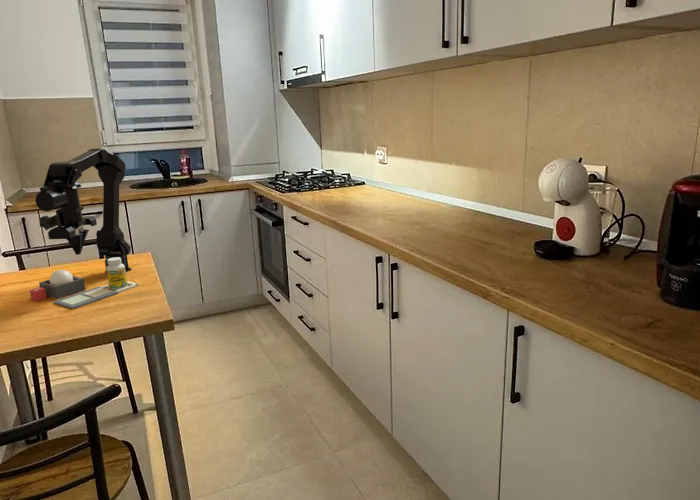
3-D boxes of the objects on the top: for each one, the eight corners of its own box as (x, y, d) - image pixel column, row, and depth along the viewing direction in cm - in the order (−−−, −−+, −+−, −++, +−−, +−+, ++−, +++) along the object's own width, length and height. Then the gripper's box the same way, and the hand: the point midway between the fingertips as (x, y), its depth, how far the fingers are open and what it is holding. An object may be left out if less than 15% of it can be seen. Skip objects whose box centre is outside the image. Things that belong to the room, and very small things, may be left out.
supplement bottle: (127, 283, 167) (123, 255, 164) (128, 288, 162) (124, 259, 159) (109, 286, 164) (104, 257, 162) (109, 291, 160) (105, 262, 157)
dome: (67, 284, 165) (64, 265, 163) (80, 288, 161) (76, 268, 159) (45, 291, 159) (41, 271, 157) (58, 294, 155) (54, 274, 154)
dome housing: (69, 285, 166) (67, 274, 165) (85, 289, 162) (83, 278, 161) (27, 298, 156) (25, 286, 155) (43, 303, 151) (41, 291, 150)
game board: (120, 281, 169) (120, 279, 169) (140, 286, 164) (139, 283, 164) (53, 303, 151) (53, 300, 151) (73, 309, 146) (72, 306, 146)
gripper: (57, 199, 163) (66, 247, 167) (24, 211, 145) (35, 264, 149) (93, 198, 163) (101, 245, 167) (64, 210, 145) (74, 263, 149)
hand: (78, 254), depth 158 cm, fingers closed
